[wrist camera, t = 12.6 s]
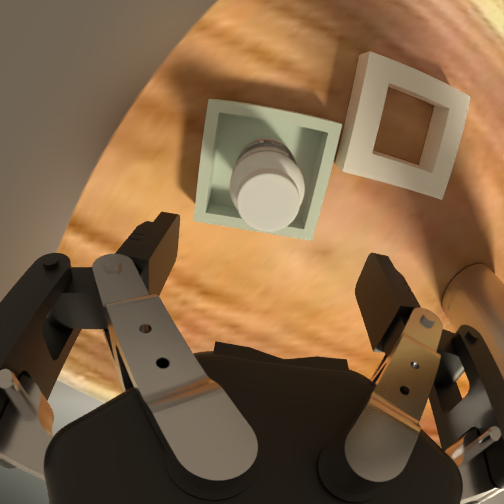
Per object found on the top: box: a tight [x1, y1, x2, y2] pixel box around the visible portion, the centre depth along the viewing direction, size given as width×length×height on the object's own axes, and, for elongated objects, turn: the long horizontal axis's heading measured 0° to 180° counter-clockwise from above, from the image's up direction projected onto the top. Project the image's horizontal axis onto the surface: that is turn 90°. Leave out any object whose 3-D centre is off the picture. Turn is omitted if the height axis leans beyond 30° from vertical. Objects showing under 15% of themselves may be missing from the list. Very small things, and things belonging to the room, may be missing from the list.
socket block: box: [335, 51, 471, 200], centre depth 24 cm, size 11×11×3 cm
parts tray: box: [194, 99, 342, 241], centre depth 26 cm, size 11×11×3 cm
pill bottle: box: [229, 139, 305, 232], centre depth 23 cm, size 5×5×10 cm
